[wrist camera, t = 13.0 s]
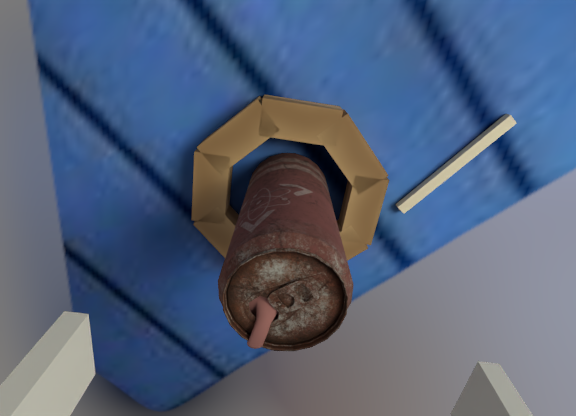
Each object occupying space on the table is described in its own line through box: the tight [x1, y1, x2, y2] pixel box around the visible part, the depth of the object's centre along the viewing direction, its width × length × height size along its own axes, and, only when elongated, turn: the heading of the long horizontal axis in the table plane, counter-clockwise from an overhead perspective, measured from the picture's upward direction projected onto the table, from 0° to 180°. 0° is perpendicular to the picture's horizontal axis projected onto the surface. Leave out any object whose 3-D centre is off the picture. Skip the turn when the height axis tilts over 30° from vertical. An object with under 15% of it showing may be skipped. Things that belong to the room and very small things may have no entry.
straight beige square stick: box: [396, 114, 516, 213], centre depth 26 cm, size 10×1×1 cm, turn 135°
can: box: [218, 153, 353, 351], centre depth 21 cm, size 6×6×14 cm
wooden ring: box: [192, 95, 389, 260], centre depth 27 cm, size 14×14×2 cm
